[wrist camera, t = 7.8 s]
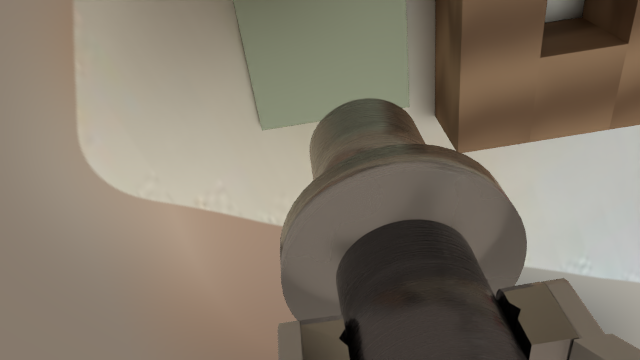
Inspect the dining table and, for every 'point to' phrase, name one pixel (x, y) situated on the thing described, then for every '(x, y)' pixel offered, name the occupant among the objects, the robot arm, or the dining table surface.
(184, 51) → the dining table surface
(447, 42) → the block
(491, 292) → the flanged metal shaft
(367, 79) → the mat
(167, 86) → the dining table surface
